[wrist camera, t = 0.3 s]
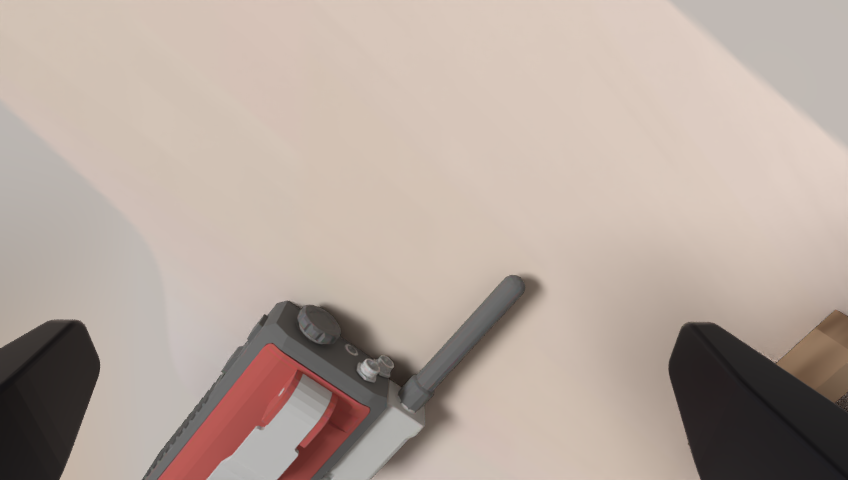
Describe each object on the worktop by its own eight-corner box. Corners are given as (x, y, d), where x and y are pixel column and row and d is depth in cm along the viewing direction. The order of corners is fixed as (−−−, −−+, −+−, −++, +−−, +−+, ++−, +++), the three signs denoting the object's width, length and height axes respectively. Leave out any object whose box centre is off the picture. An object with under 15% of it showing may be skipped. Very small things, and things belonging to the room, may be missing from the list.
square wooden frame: (806, 533, 30) (841, 573, 27) (687, 443, 28) (713, 479, 25) (953, 415, 28) (1004, 448, 25) (835, 309, 26) (879, 334, 23)
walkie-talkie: (285, 549, 30) (532, 281, 25) (264, 628, 26) (556, 324, 21) (142, 467, 28) (381, 162, 24) (94, 538, 24) (375, 184, 19)
